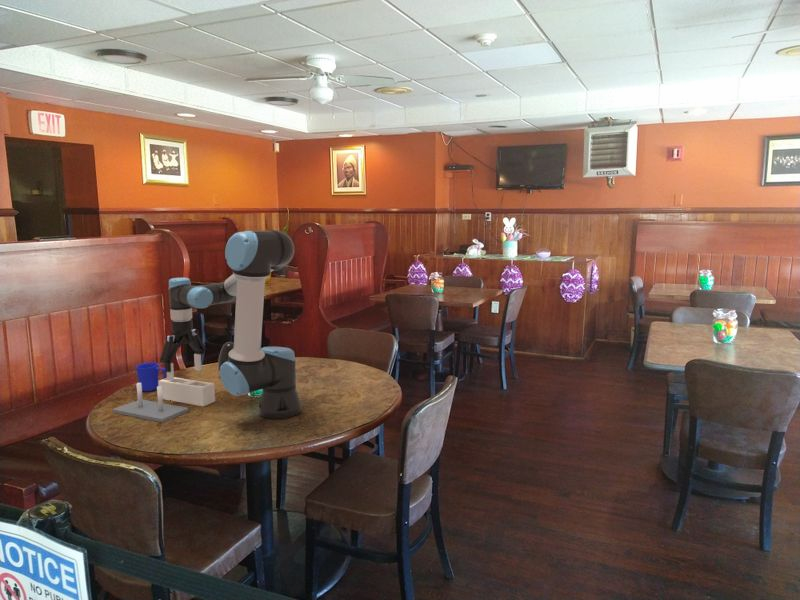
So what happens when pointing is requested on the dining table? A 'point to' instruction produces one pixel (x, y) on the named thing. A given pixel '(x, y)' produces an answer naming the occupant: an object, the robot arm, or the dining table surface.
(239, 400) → the dining table surface
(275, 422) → the dining table surface
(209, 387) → the white slotted block
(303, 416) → the dining table surface
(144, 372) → the mug
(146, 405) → the grey piece
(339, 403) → the dining table surface
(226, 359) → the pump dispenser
